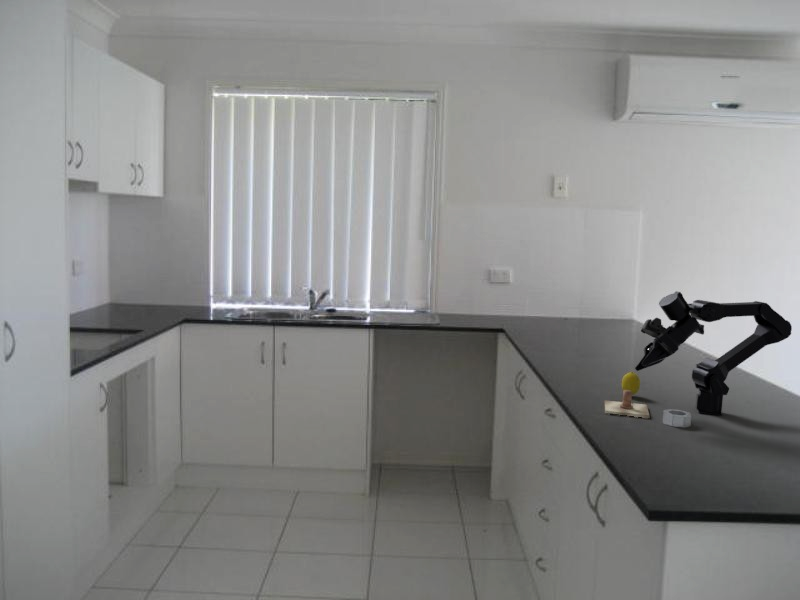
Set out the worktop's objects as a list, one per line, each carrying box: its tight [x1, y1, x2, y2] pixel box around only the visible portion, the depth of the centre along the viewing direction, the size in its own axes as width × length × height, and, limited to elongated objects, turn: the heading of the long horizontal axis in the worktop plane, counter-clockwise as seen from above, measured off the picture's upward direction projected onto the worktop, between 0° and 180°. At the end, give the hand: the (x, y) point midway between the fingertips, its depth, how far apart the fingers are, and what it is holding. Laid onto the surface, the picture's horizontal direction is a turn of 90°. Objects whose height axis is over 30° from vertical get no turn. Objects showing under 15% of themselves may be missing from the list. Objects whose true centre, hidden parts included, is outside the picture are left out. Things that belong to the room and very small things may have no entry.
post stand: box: [604, 390, 650, 419], centre depth 211 cm, size 12×12×6 cm
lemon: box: [621, 371, 641, 396], centre depth 229 cm, size 6×6×8 cm
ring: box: [662, 408, 692, 428], centre depth 200 cm, size 7×7×3 cm
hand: (639, 367), depth 207 cm, fingers open, 9 cm apart
